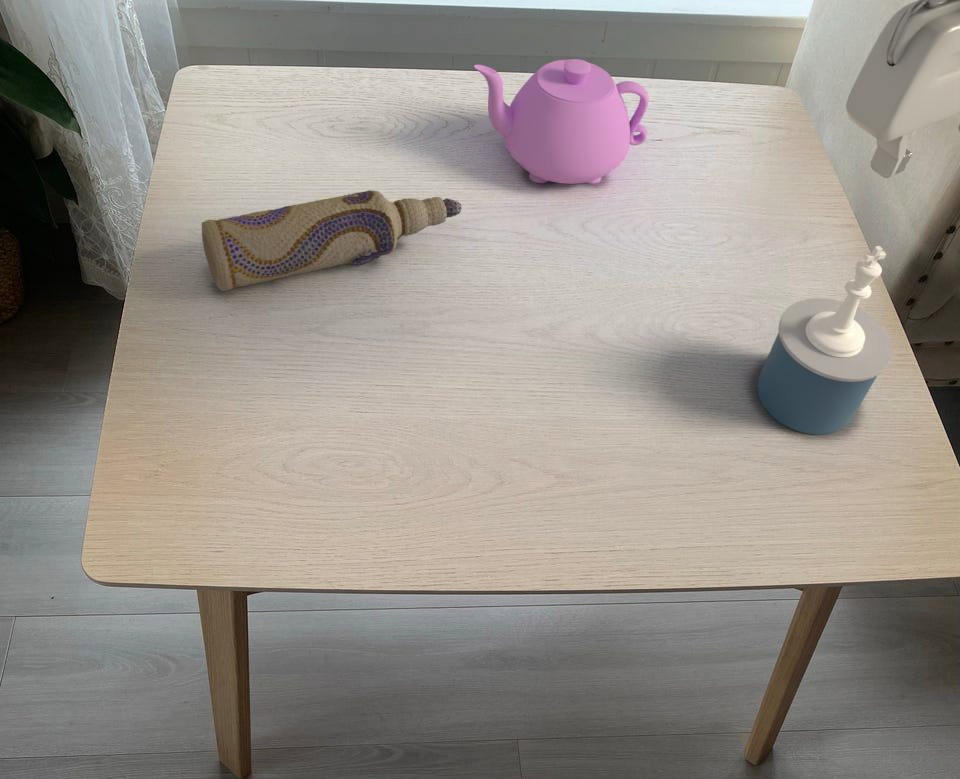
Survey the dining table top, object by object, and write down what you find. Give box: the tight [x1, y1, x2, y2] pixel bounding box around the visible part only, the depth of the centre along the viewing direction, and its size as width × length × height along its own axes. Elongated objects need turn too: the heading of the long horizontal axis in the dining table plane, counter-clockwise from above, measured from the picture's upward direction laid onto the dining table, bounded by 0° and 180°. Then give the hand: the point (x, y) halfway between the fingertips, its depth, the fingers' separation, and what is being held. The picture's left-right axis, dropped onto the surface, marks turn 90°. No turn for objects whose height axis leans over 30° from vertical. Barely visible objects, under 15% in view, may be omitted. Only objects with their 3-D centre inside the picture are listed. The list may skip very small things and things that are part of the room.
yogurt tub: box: [756, 297, 893, 436], centre depth 85 cm, size 10×10×8 cm
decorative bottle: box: [200, 189, 463, 292], centre depth 93 cm, size 26×8×7 cm, turn 112°
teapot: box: [473, 58, 650, 185], centre depth 104 cm, size 20×14×12 cm
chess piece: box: [806, 245, 887, 357], centre depth 78 cm, size 5×5×10 cm
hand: (929, 152), depth 67 cm, fingers open, 8 cm apart
